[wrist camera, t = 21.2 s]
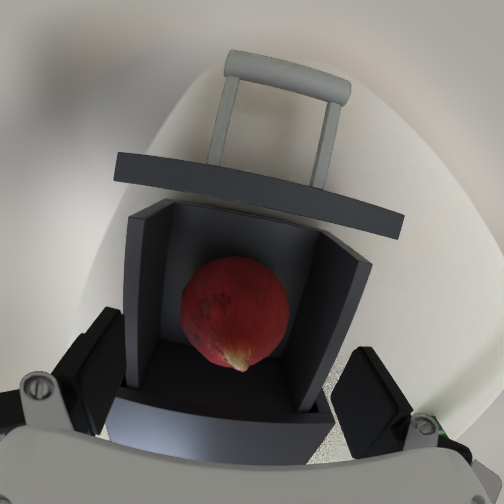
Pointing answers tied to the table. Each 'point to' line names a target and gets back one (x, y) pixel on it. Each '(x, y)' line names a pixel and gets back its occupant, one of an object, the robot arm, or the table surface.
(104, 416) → the robot arm
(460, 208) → the table surface
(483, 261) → the table surface
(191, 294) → the onion
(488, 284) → the table surface
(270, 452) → the cabinet
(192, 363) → the drawer
